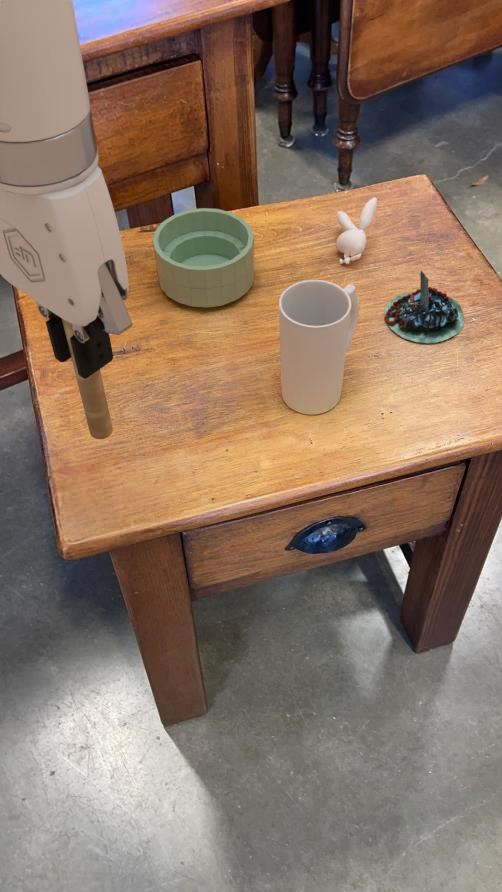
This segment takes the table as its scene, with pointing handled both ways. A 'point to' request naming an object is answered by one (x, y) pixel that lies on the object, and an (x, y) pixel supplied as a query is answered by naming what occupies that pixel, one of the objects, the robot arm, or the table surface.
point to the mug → (315, 343)
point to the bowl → (204, 257)
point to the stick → (92, 396)
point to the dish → (424, 315)
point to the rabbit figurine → (355, 232)
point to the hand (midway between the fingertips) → (84, 358)
